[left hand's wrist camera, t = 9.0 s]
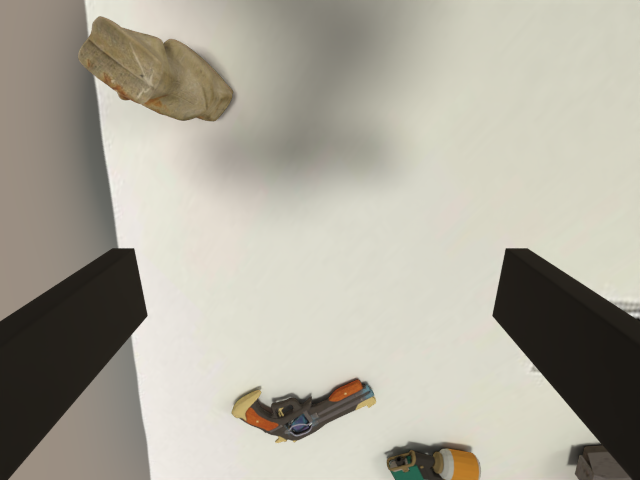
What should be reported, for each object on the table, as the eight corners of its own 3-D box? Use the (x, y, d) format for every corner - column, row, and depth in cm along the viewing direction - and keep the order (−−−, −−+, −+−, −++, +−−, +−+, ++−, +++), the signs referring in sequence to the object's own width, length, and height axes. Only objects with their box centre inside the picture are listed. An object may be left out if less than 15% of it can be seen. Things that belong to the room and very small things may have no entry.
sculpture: (191, 36, 34) (102, -18, 20) (247, 90, 36) (201, 75, 22) (158, 82, 36) (53, 62, 22) (213, 132, 38) (150, 144, 23)
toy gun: (225, 413, 48) (263, 465, 50) (345, 351, 46) (379, 407, 48) (230, 400, 51) (266, 450, 53) (343, 341, 49) (376, 395, 51)
